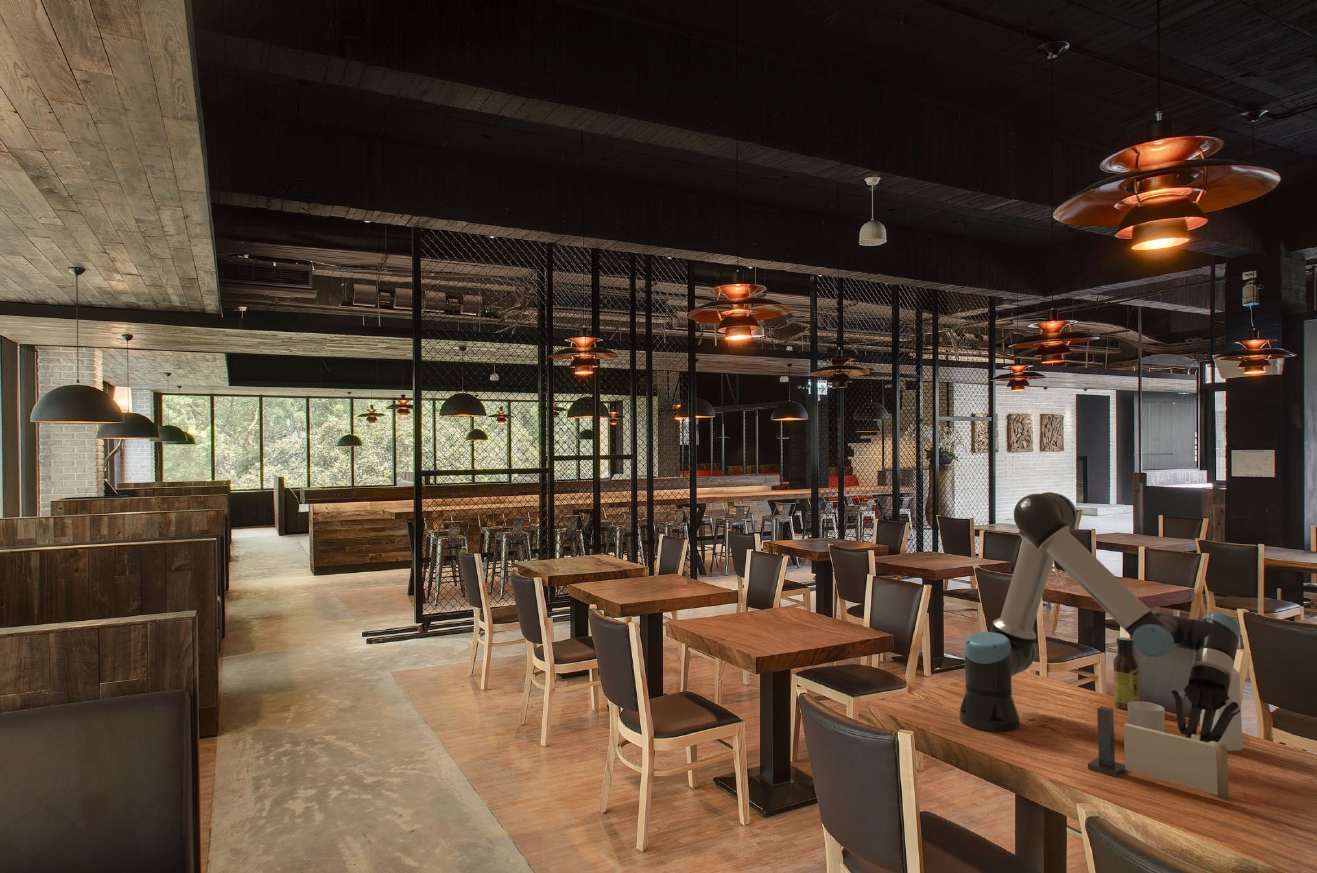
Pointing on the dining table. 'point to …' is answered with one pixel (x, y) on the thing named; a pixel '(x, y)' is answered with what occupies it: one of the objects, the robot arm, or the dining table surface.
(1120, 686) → the sauce bottle
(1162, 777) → the gate panel
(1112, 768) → the gate post
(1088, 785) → the dining table surface
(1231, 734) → the milk
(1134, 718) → the white cup
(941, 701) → the dining table surface
